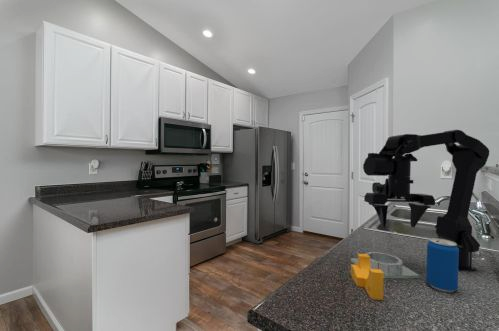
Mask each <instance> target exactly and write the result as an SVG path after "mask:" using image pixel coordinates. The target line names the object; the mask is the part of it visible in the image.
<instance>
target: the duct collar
mask: <svg viewBox="0 0 499 331" xmlns="http://www.w3.org/2000/svg"><path fill="white" fill-rule="evenodd" d="M364 254H368V255H369V256H370V266H371V269H379V270H381V271H382V272H383V273H384V279H420V276H421V275H420V274H418V273H416V272H415V271H413V270H411V269H410V268H408V267H407V266H405V265H403V260H402V259H401V258H399V257H397V256H396V255H393V254H389V253H385V252H381V251H369V252H366V253H364ZM350 262H351V263H353V265H358V257H357V258H355V257H354V258H350Z"/></svg>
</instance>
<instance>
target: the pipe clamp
mask: <svg viewBox="0 0 499 331" xmlns="http://www.w3.org/2000/svg"><path fill="white" fill-rule="evenodd" d="M357 258H358V265H355V264H354V263H353V264H352V263H351V265H350V276H351V278H352V280H353V281H354V283H355V285H356V287H361V288H364V289H365V291H366V292H367V294H368V296H369V297H370V299H371V300H379V301H380V300H381V301H384V279H385V278H384V273H383V272H382V271H381V270H379V269H371V266H370V256H369V255H368V254H365V253H357Z"/></svg>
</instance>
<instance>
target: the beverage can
mask: <svg viewBox="0 0 499 331" xmlns="http://www.w3.org/2000/svg"><path fill="white" fill-rule="evenodd" d="M456 245H457V244H456V243H455V242H452V241H449V240H444V239H439V238H435V237H434V238H433V237H432V238H429V241H428V242H427V244H426V269H425V270H426V271H425V272H426V273H425V275H426V276H425V278H426V279H425V281H426V283H427V284H428V285H429V286H430V287H431V288H433V289H435V290H437V291H439V292H443V293H454V292H455V291H458V289H459V270H458V267H459V248H458V247H457V246H456Z"/></svg>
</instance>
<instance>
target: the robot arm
mask: <svg viewBox="0 0 499 331" xmlns="http://www.w3.org/2000/svg"><path fill="white" fill-rule="evenodd" d="M457 143H458V145H457ZM438 145H445V148H446V152H448V154H450V155H451V157H452V158H451V163H452V165H453V166H454V168H455V172H454V173H455V175H454V179H453V183H452V188H451V193H450V198H449V202H448V206H447V212H446V213H445V214H444V215H442V216H440V215H438V216H437V218H436V224H435V226H434V228H435V234H436V236H437V237H438V238H437V239H444V240H449V241H452V242H455V243H456V244H457V245H456V246H457V247H458V248H459V267H458V271H477V268H476V267H474V266H472V257H473V253H476V252H479V250H480V247H481V244H480V242H478V240H477V239H476V238H475V237H474V236H473V226H472V224H471V221H470V220H469V217H468V215H469V212H470V208H471V207H470V206H471V202H472V198H473V192H474V189H475V183H476V179H477V178H476V177H477V174H478V173H479V171H480V170H481V169H483V167H485V165H486V164H487V161H488V159H489V157H490V149H489V147H487V145H485V144H484V143H483V142H482V141H480V140H479V139H477V138H475V137H473V136H470V135H468V134H466V132H464V131H463V130H461V129H452V130H446V131H442V132H437V133H435V132H434V133H429V134H423V135H421V134H420V135H419V134H415V133H414V134H411V133H405V134H399V135H392V136H389V137H388V138H387V139H386V141H385V144H384V145H383V147H382V149H381V150H380V151H379V152H378V153H377V152H376V153H375V152H369V153H367V157H366V158H365V159H364V161H363V162H364V163H363V165H362V169H363V172H364V173H365V175H366V176H368V177H369V176H372V177H373V176H378V177H379V176H380V177H381V176H382V177H384V176H388V178H385V182H384V184H383V183H381V182H372V185H371V186H372V187H371V189H372V192H366V193H365V195H364V200H363V201H364V202H366V203H368V205H370V206H372V207H373V208H374V210H375V212H376V214H377V217H378V220H379V223H380V225H381V227H382V228H386V224H387V216H388V208H389V205H387V203H388V202H393V203H395V202H397V203H398V202H399V203H407V204H408V206H409V208H410V222H409V223H410V227H411V228H415V227H416V226H417V225H418V223H419V221H420V219H421V218H422V217H423V215H424V214H425V212H427V210H428V209H431V207H432V206H435V205H436V199H435V197H434V196H433V195H432V194H426V193H425V194H424V193H411V184H414V179H411V168H412V167H411V164H412V163H411V162H418V158H417V157H415V156H414V155H413V154H412V153H413V152H416V151H419V150H420V149H422V148H426V147H432V146H433V147H434V146H438Z"/></svg>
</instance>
